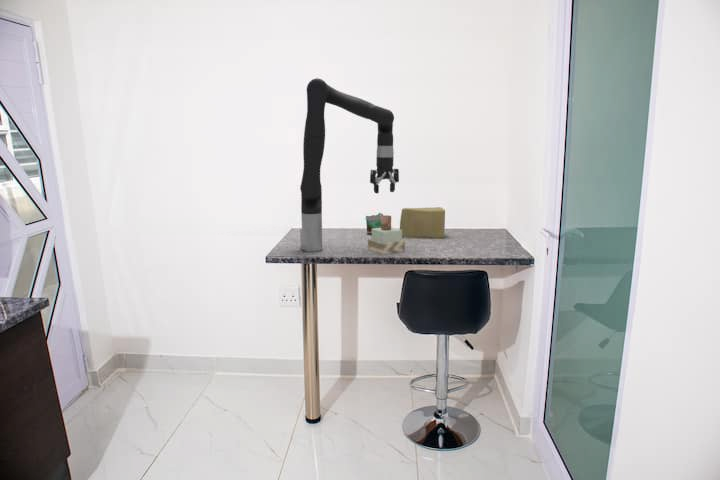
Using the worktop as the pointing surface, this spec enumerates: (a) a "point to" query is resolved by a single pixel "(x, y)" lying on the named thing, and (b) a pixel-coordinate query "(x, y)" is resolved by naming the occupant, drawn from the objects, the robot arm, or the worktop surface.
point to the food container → (373, 222)
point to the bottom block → (386, 247)
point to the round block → (385, 222)
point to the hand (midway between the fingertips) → (384, 192)
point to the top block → (386, 235)
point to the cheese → (422, 222)
